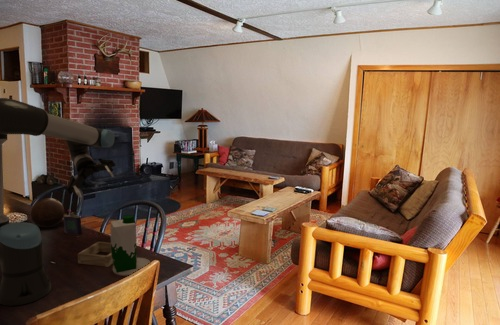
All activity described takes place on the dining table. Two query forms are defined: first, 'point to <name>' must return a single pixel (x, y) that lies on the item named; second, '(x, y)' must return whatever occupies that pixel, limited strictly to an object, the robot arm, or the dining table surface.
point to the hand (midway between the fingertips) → (95, 184)
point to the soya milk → (124, 243)
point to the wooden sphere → (47, 212)
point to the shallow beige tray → (92, 259)
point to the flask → (72, 224)
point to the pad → (140, 263)
